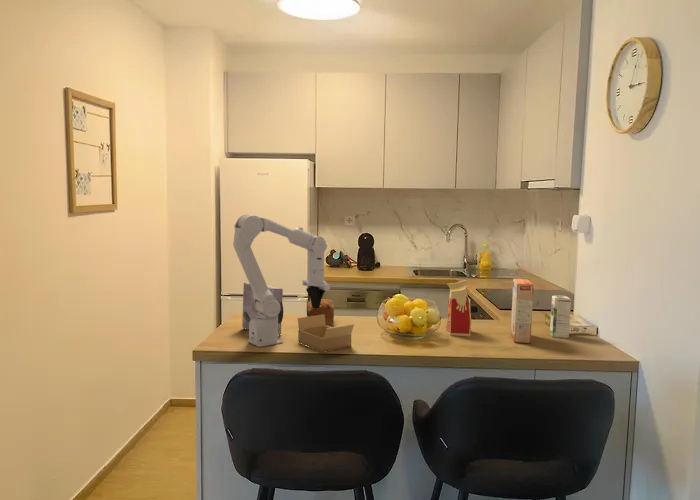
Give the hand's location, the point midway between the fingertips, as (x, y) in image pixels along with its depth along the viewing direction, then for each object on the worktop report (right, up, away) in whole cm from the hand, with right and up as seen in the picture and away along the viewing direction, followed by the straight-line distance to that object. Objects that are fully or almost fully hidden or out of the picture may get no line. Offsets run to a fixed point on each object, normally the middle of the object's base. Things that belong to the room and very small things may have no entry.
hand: (315, 307), depth 196 cm
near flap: (+8, -6, -17) cm, 20 cm away
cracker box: (+73, -11, +1) cm, 74 cm away
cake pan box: (-20, -10, +7) cm, 23 cm away
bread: (0, -9, +21) cm, 23 cm away
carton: (+4, -11, -10) cm, 16 cm away
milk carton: (+52, -10, +9) cm, 54 cm away
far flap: (-1, -4, -5) cm, 7 cm away
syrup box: (+89, -11, +6) cm, 90 cm away
